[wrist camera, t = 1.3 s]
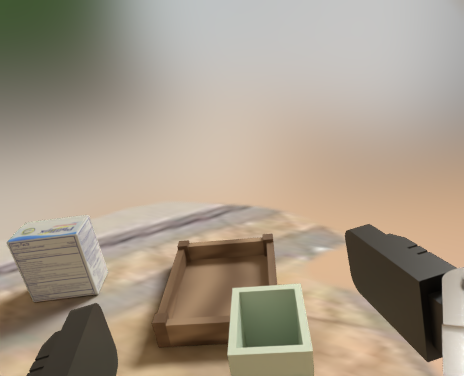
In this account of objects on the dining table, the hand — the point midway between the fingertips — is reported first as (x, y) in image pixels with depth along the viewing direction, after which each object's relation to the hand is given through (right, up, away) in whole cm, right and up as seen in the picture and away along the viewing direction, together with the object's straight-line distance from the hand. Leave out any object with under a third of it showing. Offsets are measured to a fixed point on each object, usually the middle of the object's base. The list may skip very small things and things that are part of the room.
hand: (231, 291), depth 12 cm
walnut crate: (-1, -8, +29) cm, 30 cm away
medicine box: (-19, -9, +33) cm, 40 cm away
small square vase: (+4, -13, +16) cm, 21 cm away
